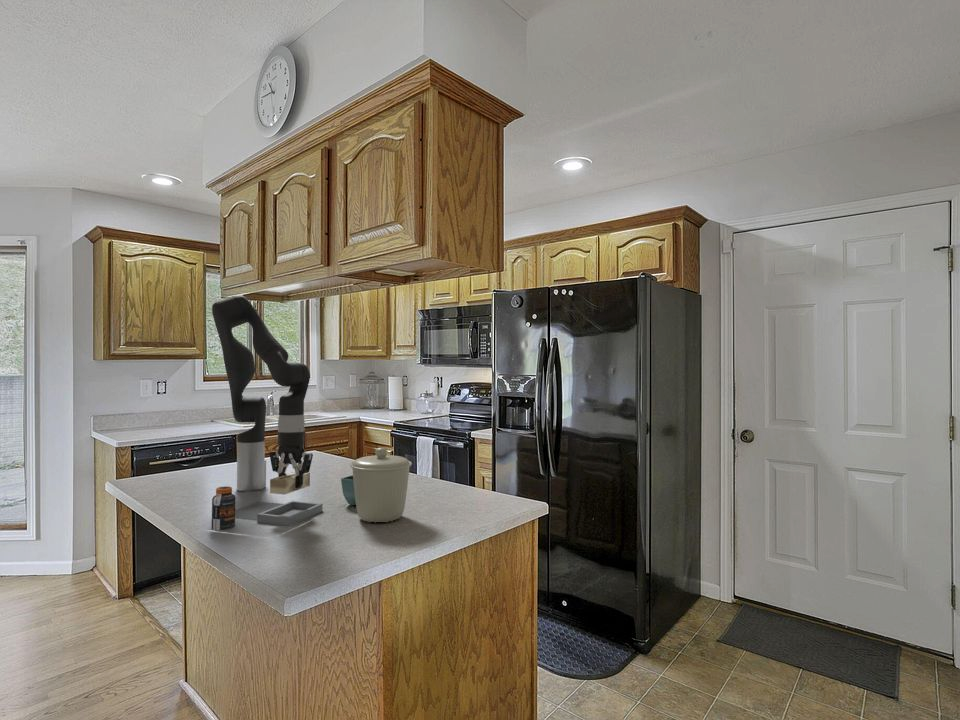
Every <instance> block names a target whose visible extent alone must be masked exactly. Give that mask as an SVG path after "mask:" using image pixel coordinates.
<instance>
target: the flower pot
mask: <svg viewBox="0 0 960 720" xmlns="http://www.w3.org/2000/svg"><path fill="white" fill-rule="evenodd" d="M340 481H341V489H342V494H343V496H344V499H345V501H346V502H347V504H348V505H349V504H351V505H350V506H353V505H356V500H355V491H354V481H353V474H352V475H348V476H344V477H341V478H340Z"/></svg>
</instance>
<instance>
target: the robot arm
mask: <svg viewBox="0 0 960 720" xmlns="http://www.w3.org/2000/svg"><path fill="white" fill-rule="evenodd" d="M211 313H212V317H213V321H214V324H215V328H216V330H217V334H218V338H219V342H220V345H221V351H222V357H223V363H224V367H225V373H226V376H227V380H228V385H229V390H230V399H231V400H230V401H231V407H232V408H231V409H232V415H233V419H234V420H235V422H237V423H242V424H243V423H254V426H253V427H252V428H250V429H247V430H244V431H241V432H239V433H238V434H237V437H236V440H237V441H236V442H237V443H236V447H237V448H236V452H237V453H236V490H237V491H239V492H252V491H253V492H254V491H260V490H262V489H264V488H265V487H267V460H265V456H266V455H265V453H266V452H265V450H266V449H265V447H266V446H265V445H266V444H265V441H266V440H265V439H266V437H265V436H266V415H267V403H266V402H267V401H266V399H265V398H264V397H263V396H243V393H244V391H245V389H246V388H247V386H248V385H249V384H250V382H251V381H252V379H253V378H254V376H255V373H256V364H255V360H254V359H255V358H254V354H253V352H252V351H251V350H250V349H249V348H248V347H247V346H246V345H245V344H243V343H242V342H240V341H239V340H238V339H237V338H236V337H235V336H234V335H233V332H232V331H233V328H235V327H238V326H241V325H244V324H246V323H248V324H249V325H250V326H251V329H252V346H253V349H254V351H255V353H256V354H257V356H258V357H259V358H260V359H261V360H262V362H264V363H265V365H266V367H267V369H268V370H269V373H270V375H271V377H272V379H273V381H274V382H275V383H276V384H277V385H279V386H280V387H284V388H285V387H289V389H288V392H286V394H283V395H281V396H280V397H279V402H278V419H277V421H278V422H277V445H278V449H277V450H273V451H269V459H270V464H271V470H272V472H274V473H275V472H276V473H277V474H278V476H277V477H280V476H283V475H286V474H287V468H288V467H289V465H291V466H292V469H294V472H295V473H296V476H295V477H296V478H295V487H296V488H300V487H301V486H302V485H303V474H305V473H310V469H311V465H312V462H313V461H312V460H313V457H314V454H313V453H312V452H310V453H309V452H305V449H304V446H305V432H306V431H305V427H306V426H305V422H306V421H305V398H306V395H307V391H308V388H309V384H310V378H311V376H310V375H311V374H310V370H309V368H308V366H307V365H306V364H305V363H303V362H288V359H289V353H288V351H287V350H286V349H285V348H284V346H283V345H282V344H281V343H279V341H278V340H277V339H276V338H275V337H274V336H273V334H272V333H271V332H270V330H269V329H268V328H267V326H266V324H265V322H264V321H263V320H262V317H261V316H260V315H259V313H258V312H257V310H256V309H255V307H254V306H253V304H252V303H251V302H250V301H249V299H248V298H247V297H246V296H244V295H242V294H237V295H232V296H230V297H227V298H224V299H220V300H218V301H215V302H214V303H213V304H212V306H211Z"/></svg>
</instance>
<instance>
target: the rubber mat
mask: <svg viewBox="0 0 960 720" xmlns="http://www.w3.org/2000/svg"><path fill="white" fill-rule="evenodd" d="M283 504H284V503H280V502H279V503H278V502H268V501H260V500H259V501H256V502H254V503H251V504H247V505H244V506H242V507H240V508H235V519H240V520H248V521H254V522H255V521H256V522H257V514H259V513H262V512H264V511H267V510H269V509H272V508H275V507H277V506H280V505H283Z"/></svg>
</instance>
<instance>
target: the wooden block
mask: <svg viewBox="0 0 960 720" xmlns="http://www.w3.org/2000/svg"><path fill="white" fill-rule="evenodd" d="M295 476H296V473H295V471H294V472H290V473H286V475H283V476H280V477H278V476H276V477H273V478H270V479H269V494H275V495H283V496H284V495H287V494H291V493H294V492H296V491H300V490H302V489H305V488H308V487H310V486H311V474H310V472H308V473H305V474H303V485H302V486H301V487H300V488H296V487H295V478H296V477H295Z"/></svg>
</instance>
